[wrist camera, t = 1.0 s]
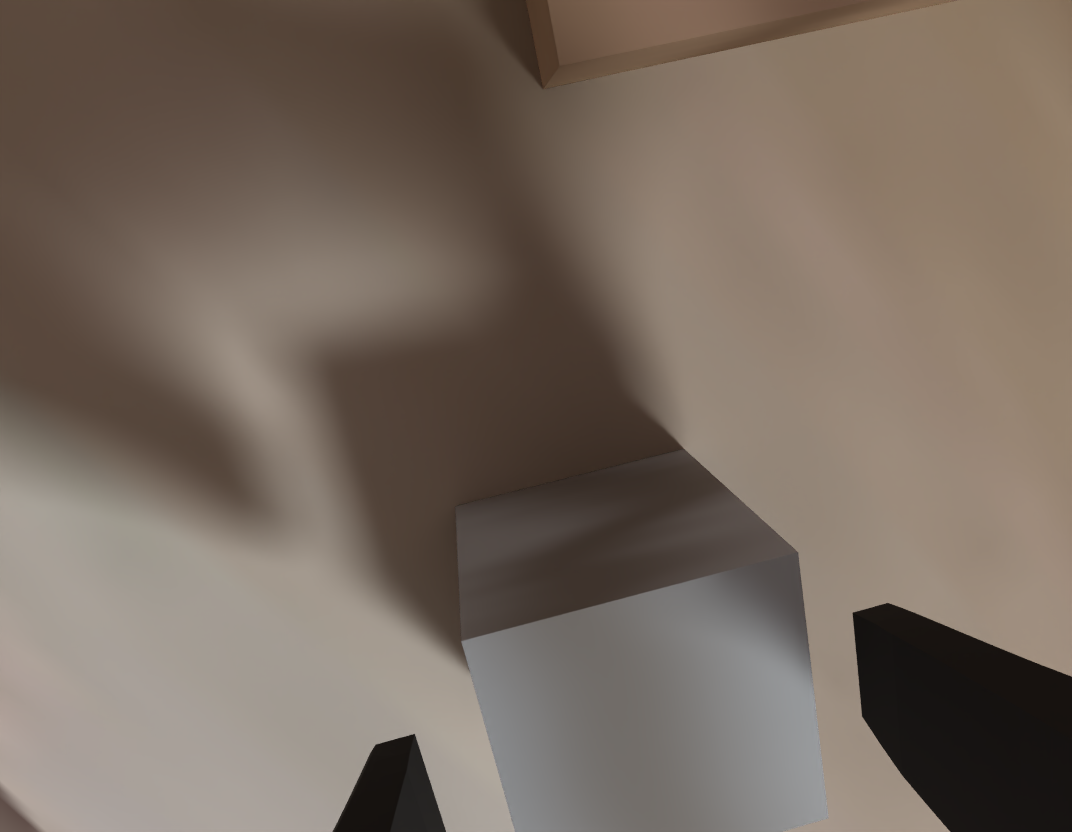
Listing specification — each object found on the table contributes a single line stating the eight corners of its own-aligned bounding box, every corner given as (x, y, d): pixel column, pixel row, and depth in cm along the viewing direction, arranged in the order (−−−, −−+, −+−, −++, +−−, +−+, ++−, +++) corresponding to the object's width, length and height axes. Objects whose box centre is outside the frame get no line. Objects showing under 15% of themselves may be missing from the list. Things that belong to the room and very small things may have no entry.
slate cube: (682, 447, 15) (797, 551, 10) (714, 643, 16) (828, 817, 11) (455, 504, 14) (461, 641, 10) (507, 699, 16) (535, 903, 11)
